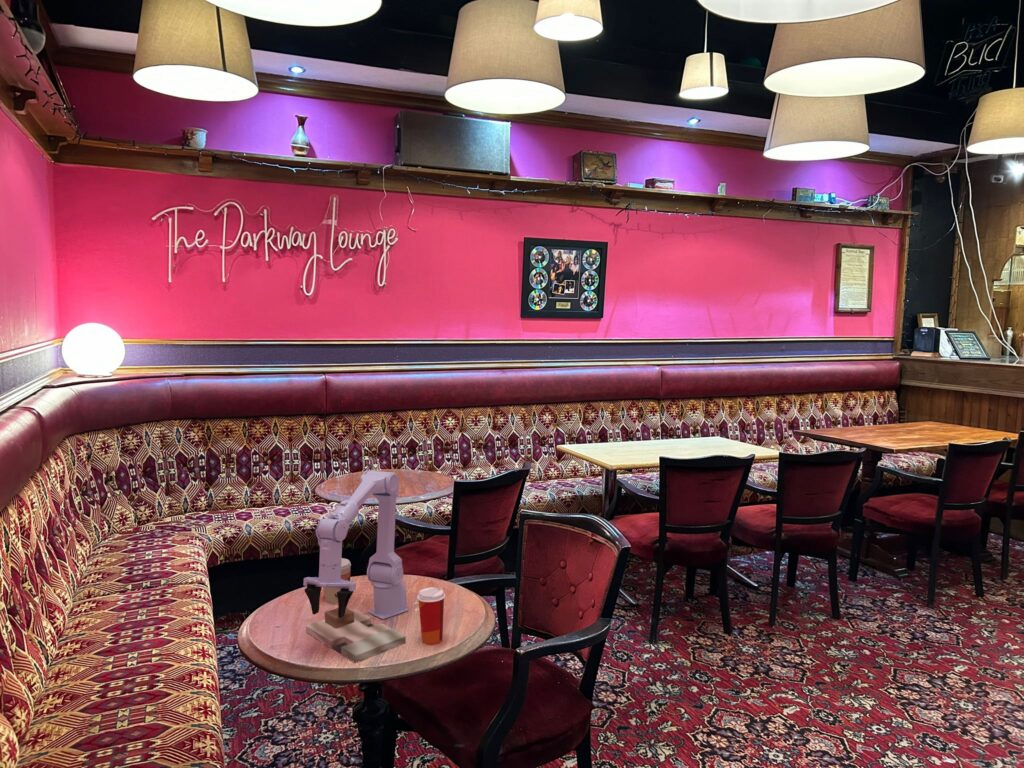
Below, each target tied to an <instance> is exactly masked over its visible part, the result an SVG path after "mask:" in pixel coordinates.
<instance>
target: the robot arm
mask: <svg viewBox="0 0 1024 768" xmlns="http://www.w3.org/2000/svg"><path fill="white" fill-rule="evenodd" d="M399 494H400V477H399V476H398V474H397V473H396V472H395V471H390V472H389V471H380V470H379V471H378V470H371V469H366V470H365V471H364V472H363V473H362V475H361V476H360V478H359V485H358V487H357V488H356V489H355V491H354V492H353V493H352V495H351V496H350V498H349V499H344V500H342V501H341V502H340V503H339V505H338V506H337V507H336V508H335V509H334V510H333V511H332V512H331V514H330V515H329V516H328V517H326V518H322V519H321V520H320V521H319V522H318V524H317V526H316V529H315V536H316V538H317V544H318V546H319V563H318V564H319V566H318V567H319V569H318V577H317V576H314V577H313V576H312V577H311V576H307V577H304V578H303V586H304V587H305V588H304V593H305V595H306V596H307V598H308V600H309V601H308V602H309V603H310V604H309V605H310V609H311V613H312V615H316V614H318V613H319V612H320V599H321V594H322V593H321V591H322V589H323V587H327V588H335V589H341V591H338V592H337V597H338V604H337V606H338V607H337V608H338V617H339V618H341V617H343V616H344V615H345V610H346V608H347V607H348V604H349V601H350V599H351V597H352V596H353V593H354V591H355V590H357V582H356V581H351V580H350V581H347V580H343V579H341V560H342V558H343V557H342V556H343V555H342V553H343V540H345V539H346V537H347V535H348V531H349V529H350V525H351V524H352V522H354V520H355V519H356V518H357V517H358V515H359V514H360V513H359V512H360V510H359V508H360V507H361V506H362V505H363V504H364V503H365V502H366V501H367V500H368V499H369V498H370V497H371V496H372V495H373V496H374V497H375V499H376V500H377V501H378V509H377V510H378V511H377V530H376V531H377V532H376V534H377V535H376V552H375V553H374V554H372V556H370V557H369V560H368V566H367V569H366V577H367V580H368V581H369V582H370V585H371V586H372V587H373V591H372V592H373V608H371V609H369V610H367V611H368V614H371V615H373V616H375V617H377V618H379V619H381V620H385V619H388V618H391V617H394V616H397V615H400V614H402V613H405V612H408V611H409V609H408V608H407V606H408V605H407V588H406V585H405V583H404V582H403V577H404V569H403V559H402V558H401V557H400V556H399V555H398V554H397V553H396V552H395V535H396V532H395V531H396V511H397V510H396V509H397V508H396V507H397V499H398V498H399Z"/></svg>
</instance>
